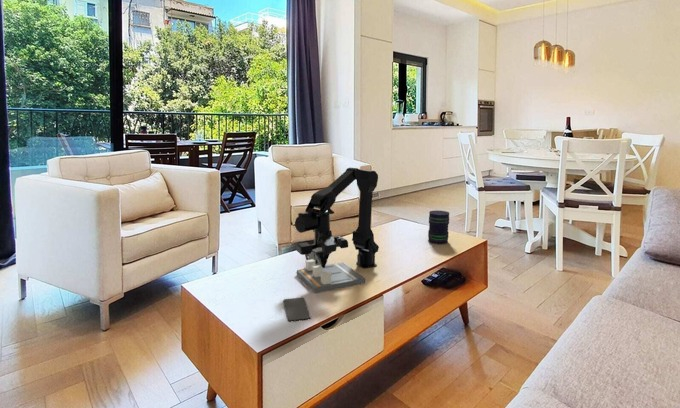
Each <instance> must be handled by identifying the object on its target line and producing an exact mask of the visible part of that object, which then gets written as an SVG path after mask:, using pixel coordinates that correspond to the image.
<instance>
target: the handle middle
mask: <svg viewBox="0 0 680 408" xmlns="http://www.w3.org/2000/svg"><path fill="white" fill-rule="evenodd" d="M321 273H323V267H322V266H321V265H318V266H313V276H314V277H321Z"/></svg>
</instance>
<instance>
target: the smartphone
mask: <svg viewBox="0 0 680 408" xmlns="http://www.w3.org/2000/svg"><path fill="white" fill-rule="evenodd" d="M283 303H284V304H283V305H284V309H285V314H286V319H287V322H288V323H292V322H291V321H293V322H299V320H300V321H301V320H302V321H309V320H308V319H310V320H311V319H312V318H311V315H310V312H309V309H308V306H307V302H306V300H305V297H303V296H302V297H293V298H285V299H283Z"/></svg>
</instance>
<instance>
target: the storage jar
mask: <svg viewBox="0 0 680 408" xmlns="http://www.w3.org/2000/svg"><path fill="white" fill-rule="evenodd" d="M428 214H429V216H428V224H429V225H428V232H427V233H428V234H427V237H428V240H427V241H428V243H430V244H432V245H446V244H448V242H449V241H448V239H449V225H450V212H449V211H446V210H430V211H429V213H428Z"/></svg>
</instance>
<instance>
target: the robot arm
mask: <svg viewBox="0 0 680 408" xmlns="http://www.w3.org/2000/svg"><path fill="white" fill-rule="evenodd" d="M355 180H356V186H357V188H358V190H359V209H358V222H357V223H358V224H357V225H358V226H357V227H356V229H355V230H353V231H352V238H351V241H352V243H353V246H354V248H355V250H357V251H358V253H357V254H356V256H357V258H356V260H357V261H356V265H358V266H359V267H361V268H363V269H366V268H367V269H368V268H372V267H377V265H378V264H377V263H376V253H377V252H379V249H380V247H379V245H378V244H377V242H375V236H374V235H375V234H374V233H373V230H372V228H371V223H372V222H371V221H372V206H373V193H374V191H375V190H376V188H377V186H378V182H379V181H378V180H379V174H378V173H377V171H375V170H372V169H371V170H370V169H360V168H359V167H358V168H357V167H347V168H346V169H345V171H344V172H343V173H341V175H340V176H339V177H337V178H336V179H335V180H334V181H333V182H332V183H331V184H330V185H328V186H327V187H325V188H320V189H319V190H317V191H316V192H314V193H313V194H312V195H311V197H310V200H309V202H308V204H307V206H306V208H305V211H304V212H299V213H298V214H297V215H298V216H297V217H296V218H295V221H294V226H295V229H296V231H297V232H298V233H307V232H310V231H313V233H314V239H313V243H312V244H309V242H307V241H306V242H300V243H297V244H296V246H295V247H296V252H297V253H298V254H300V255H303V256H305V255H306V254H310V253H311V252H314V253H315V254H316V256H317V257H318V260H319V262H320V264H321V266H322V267H323V268H325V265H327V263H328V260H329V257H330V255H331V254H332V253H333V252H336V251H337V248H340V249H346V248H348V247H349V241H348V239H346V238H344V237H343V236H340V235H339V236H333V233H332V230H331V222H330V221H331V218H330V217H331V215H333V214H335V212H334V210H333V209H331V208H332V206H333V205H334V204H335V203H336V200H337V198H338V196H339V195H340V194H341V193H342V192H343V191H345V190H346V189H347V188H348V187H349V186H350V185H351V184H353V182H354V181H355ZM326 262H327V263H326Z"/></svg>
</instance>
